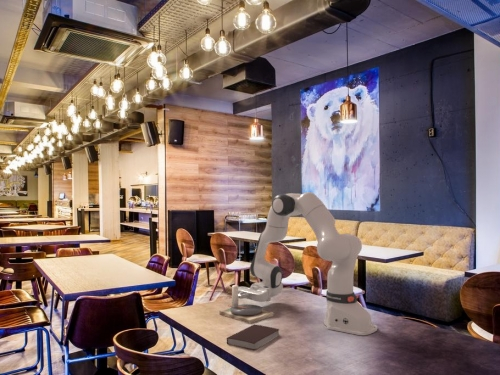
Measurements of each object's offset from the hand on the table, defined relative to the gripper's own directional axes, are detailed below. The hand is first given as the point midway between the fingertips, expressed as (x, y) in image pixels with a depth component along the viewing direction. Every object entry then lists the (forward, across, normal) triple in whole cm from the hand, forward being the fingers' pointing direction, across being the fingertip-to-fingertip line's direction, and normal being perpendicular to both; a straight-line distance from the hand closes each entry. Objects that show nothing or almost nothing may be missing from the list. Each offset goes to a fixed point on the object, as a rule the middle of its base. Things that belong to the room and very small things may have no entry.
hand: (238, 296), depth 186 cm
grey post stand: (+1, +5, +5) cm, 7 cm away
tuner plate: (0, +6, +8) cm, 9 cm away
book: (+21, +30, +8) cm, 38 cm away
